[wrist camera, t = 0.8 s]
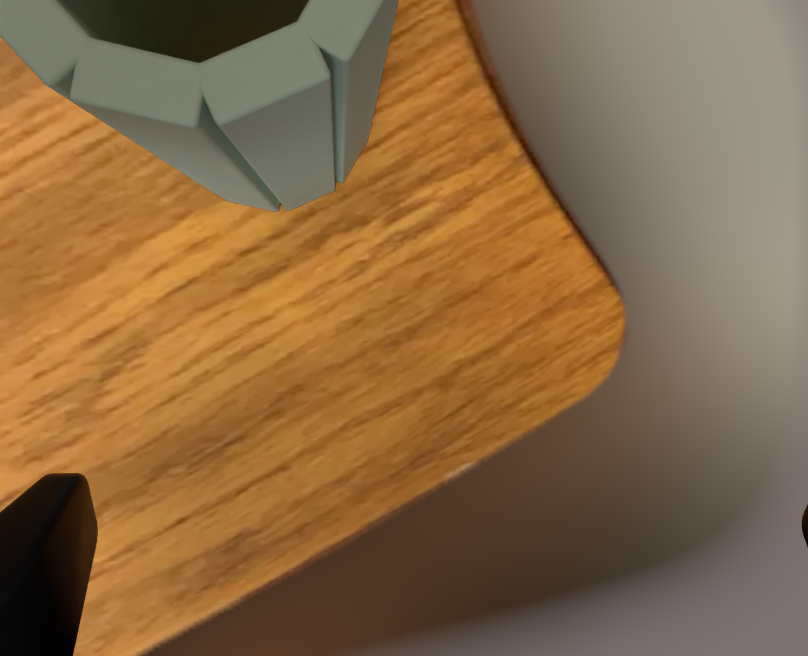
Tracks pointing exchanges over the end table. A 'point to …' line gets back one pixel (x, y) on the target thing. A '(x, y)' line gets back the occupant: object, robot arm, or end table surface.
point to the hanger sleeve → (220, 83)
